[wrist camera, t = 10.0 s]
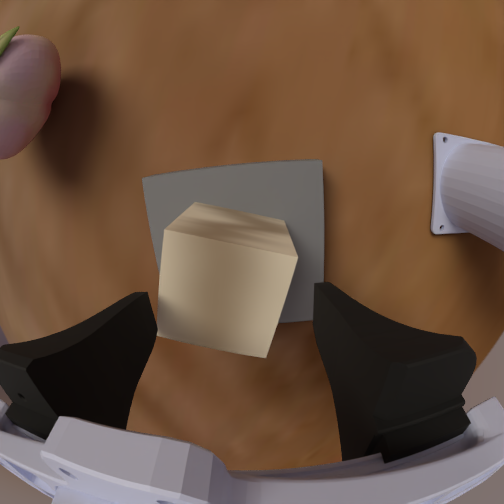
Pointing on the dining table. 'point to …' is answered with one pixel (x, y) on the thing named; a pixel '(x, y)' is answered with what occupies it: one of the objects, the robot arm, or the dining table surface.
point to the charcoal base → (253, 211)
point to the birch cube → (224, 279)
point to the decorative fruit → (25, 88)
